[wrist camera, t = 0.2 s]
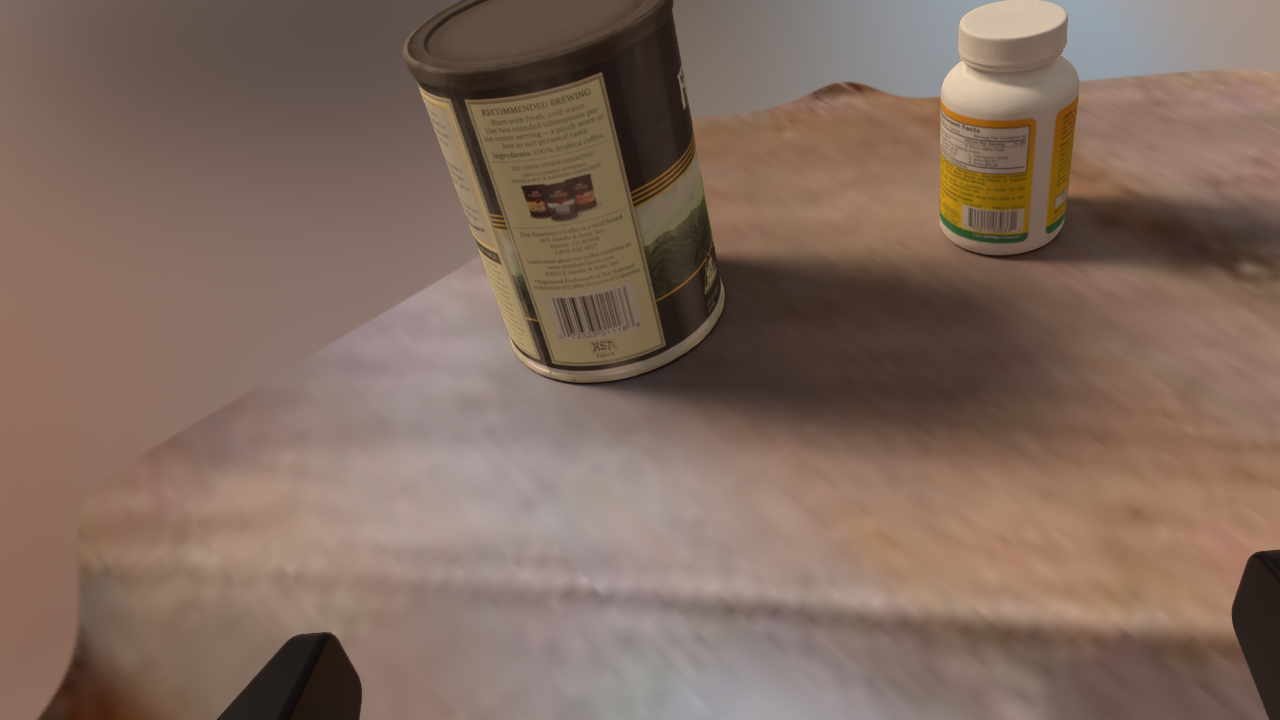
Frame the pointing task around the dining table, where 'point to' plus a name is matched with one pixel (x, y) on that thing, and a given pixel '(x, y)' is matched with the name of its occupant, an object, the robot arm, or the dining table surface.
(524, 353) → the coffee can
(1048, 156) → the supplement bottle
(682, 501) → the dining table surface
